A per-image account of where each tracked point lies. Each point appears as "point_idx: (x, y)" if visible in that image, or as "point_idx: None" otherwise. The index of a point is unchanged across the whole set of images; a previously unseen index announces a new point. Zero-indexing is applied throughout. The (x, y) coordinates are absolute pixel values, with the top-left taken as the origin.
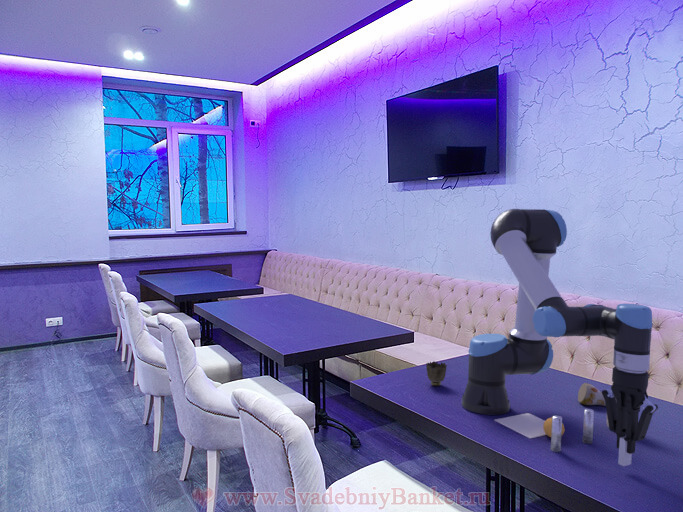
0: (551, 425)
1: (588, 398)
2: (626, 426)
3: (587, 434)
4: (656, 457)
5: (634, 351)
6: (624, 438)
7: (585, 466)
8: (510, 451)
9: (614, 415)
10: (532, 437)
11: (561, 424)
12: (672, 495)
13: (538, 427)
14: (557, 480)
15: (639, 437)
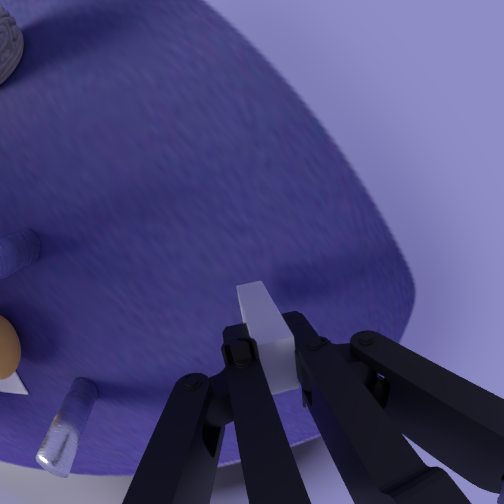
0: (3, 378)
1: None
2: (271, 398)
3: (18, 267)
4: (186, 68)
5: None
6: (305, 404)
7: None
8: (104, 462)
9: (203, 482)
10: (23, 386)
11: (68, 450)
12: (394, 260)
13: None
14: None
15: (385, 385)
